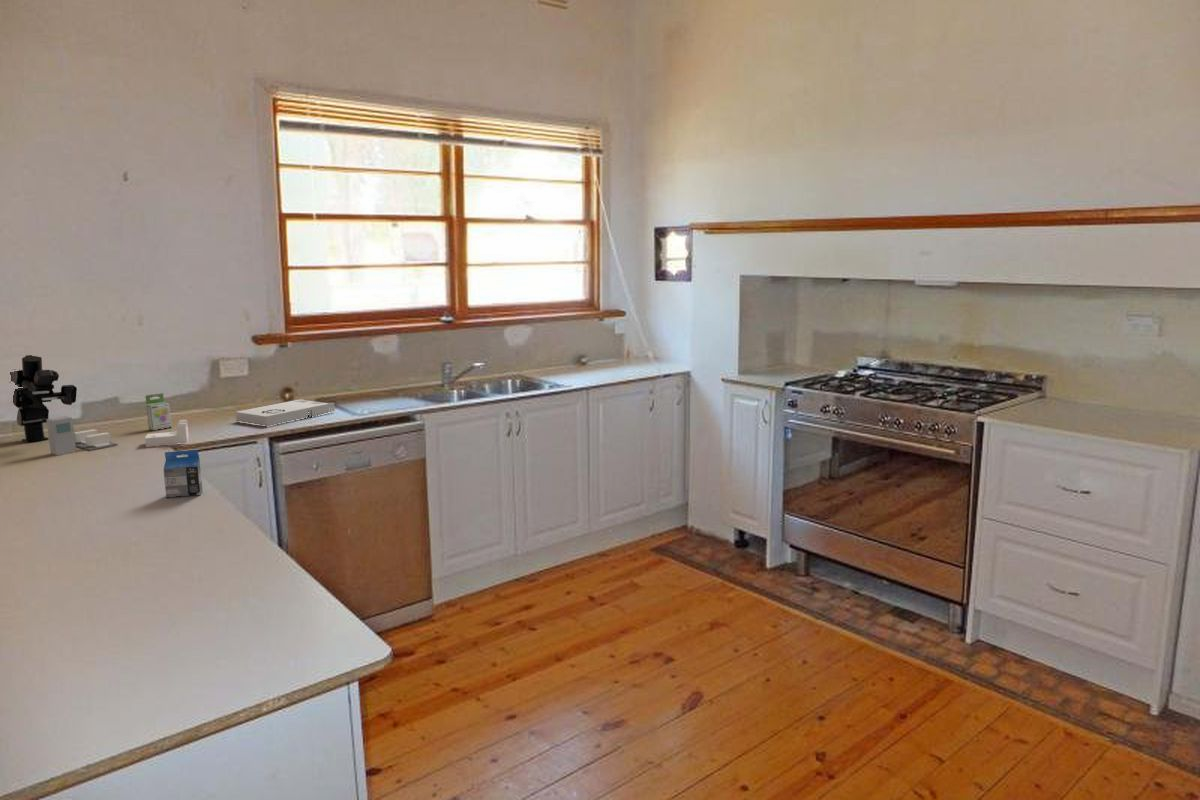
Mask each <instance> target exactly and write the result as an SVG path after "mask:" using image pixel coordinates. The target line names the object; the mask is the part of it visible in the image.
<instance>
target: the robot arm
mask: <svg viewBox="0 0 1200 800" xmlns="http://www.w3.org/2000/svg"><path fill="white" fill-rule="evenodd" d="M42 359H43V357H41V356H37V355H32V354H26V355H25V356H23V357H22V358H21V364H22V365H21V367H22V369H18V370H19V371H14V372H10V375H11V381H10V382H14V383H15V385H17V386H18V387H23V388H18V389H15V391H14V395H13V402H12V403H13V405H14V406H15V407H16V408H18V410H17V415H16V422H17V425H18V426H20V427H23V430H24V438H22V439H21V441H22V442H25V443H34V442H40V441H46V440H45V439H47V440H49V437H47V436H45V430H44V424H45V423H46V424H47V420H46V419H49V413H50V410H49V409H48V407H47V405H45V404H44V403H49V402H50V403H51V402H52V400H60V402H61V403H63V405H67V406H72V404H75V402H77V390H78V388H77V386H75V385H74V384H66V385H65V384H64V385H62V386H61V387H60V391H57V392H54V391H53V390H54V389H55V385H54V384H53V383H54V382H55V381H56V382H57V381H58V379H59V377H60V375H59V373H58V372H57V371H56V370H53V369H52V370H51V369H43V360H42Z"/></svg>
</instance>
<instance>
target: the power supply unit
mask: <svg viewBox="0 0 1200 800" xmlns="http://www.w3.org/2000/svg"><path fill="white" fill-rule="evenodd" d="M335 409H336V408H335V403H334V402H329V403H328V402H319V401H313V400H305V398H301V399H295V400H288V401H285V402H284V401H283V402H280V403H279V402H278V403H274V404H269V405H263V406H259V407H253V408H250V409H249V408H248V409H243V410H238V411H235V418H236V422H237V421H242V422H248V423H254V424H260V425H265V426H270V425H274V424H278V423H282V422H287V421H291V420H296V419H301V418H306V417H308V414H309V417H311V416H316V415H320V414H324V413H328V412H332V411H335ZM308 412H309V413H308ZM335 412H336V411H335ZM309 417H308V418H309ZM311 418H312V417H311Z"/></svg>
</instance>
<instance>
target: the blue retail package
mask: <svg viewBox="0 0 1200 800" xmlns="http://www.w3.org/2000/svg"><path fill="white" fill-rule="evenodd" d="M182 455H183V456H182ZM164 456H165V457H164V458H165V462H164V464H163V465H164V467H163V477H164V486H165V487H164V488H165V497H170V498H179V497H178V496H181V497H190V496H191V495H193V496H200V494H201V495H202V494H203V480H202V472H201V462H200V461H201V459H200V454H199V450H198V449H191V450H178V451H165V452H164ZM177 456H179V457H177ZM176 496H177V497H176ZM191 497H192V496H191Z"/></svg>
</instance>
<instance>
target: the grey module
mask: <svg viewBox="0 0 1200 800" xmlns="http://www.w3.org/2000/svg"><path fill="white" fill-rule="evenodd" d="M46 420H47V423H46V426H47V433H48V438H49V439H48V441H49V449H50V454H51V453H52V454H51V455H53V454H55V455H54V456H56V455H59V456H61V455H60V454H64V455H66V454H65V453H69V454H71V453H70V452H74V453H77V447H76V445H75V438H74V423H73V418H72V417H71V416H67V415H64V416H58V417H52V418H48V419H46Z"/></svg>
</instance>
